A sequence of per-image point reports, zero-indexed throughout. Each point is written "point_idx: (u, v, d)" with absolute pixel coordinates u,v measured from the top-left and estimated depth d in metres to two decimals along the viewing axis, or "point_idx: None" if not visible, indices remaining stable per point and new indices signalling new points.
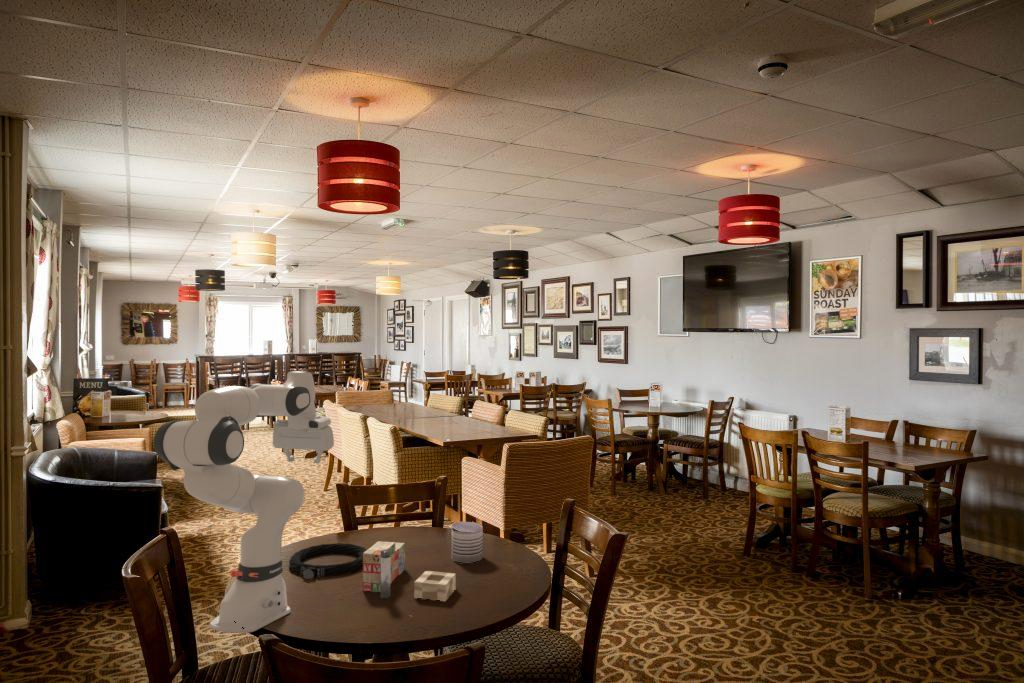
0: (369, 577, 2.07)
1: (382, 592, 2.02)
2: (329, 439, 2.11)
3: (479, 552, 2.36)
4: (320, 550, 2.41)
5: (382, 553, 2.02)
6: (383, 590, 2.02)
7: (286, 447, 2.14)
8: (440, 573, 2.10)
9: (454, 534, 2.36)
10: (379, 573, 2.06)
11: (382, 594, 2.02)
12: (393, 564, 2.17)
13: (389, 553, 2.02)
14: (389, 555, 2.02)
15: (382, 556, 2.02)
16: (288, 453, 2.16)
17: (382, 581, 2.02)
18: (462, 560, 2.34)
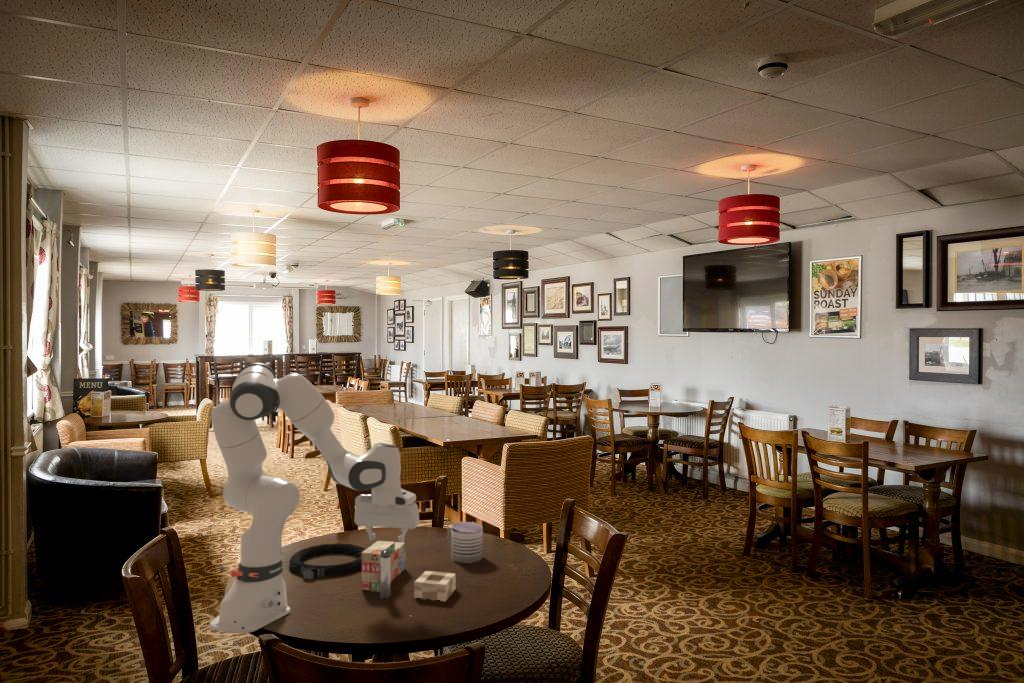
0: (367, 576, 2.08)
1: (382, 592, 2.02)
2: (415, 517, 2.00)
3: (479, 552, 2.36)
4: (320, 550, 2.41)
5: (382, 553, 2.02)
6: (383, 590, 2.02)
7: (369, 524, 2.03)
8: (440, 573, 2.10)
9: (454, 534, 2.36)
10: (377, 572, 2.07)
11: (382, 594, 2.02)
12: (392, 564, 2.17)
13: (389, 553, 2.02)
14: (389, 555, 2.02)
15: (382, 556, 2.02)
16: (370, 531, 2.04)
17: (382, 581, 2.02)
18: (462, 560, 2.34)
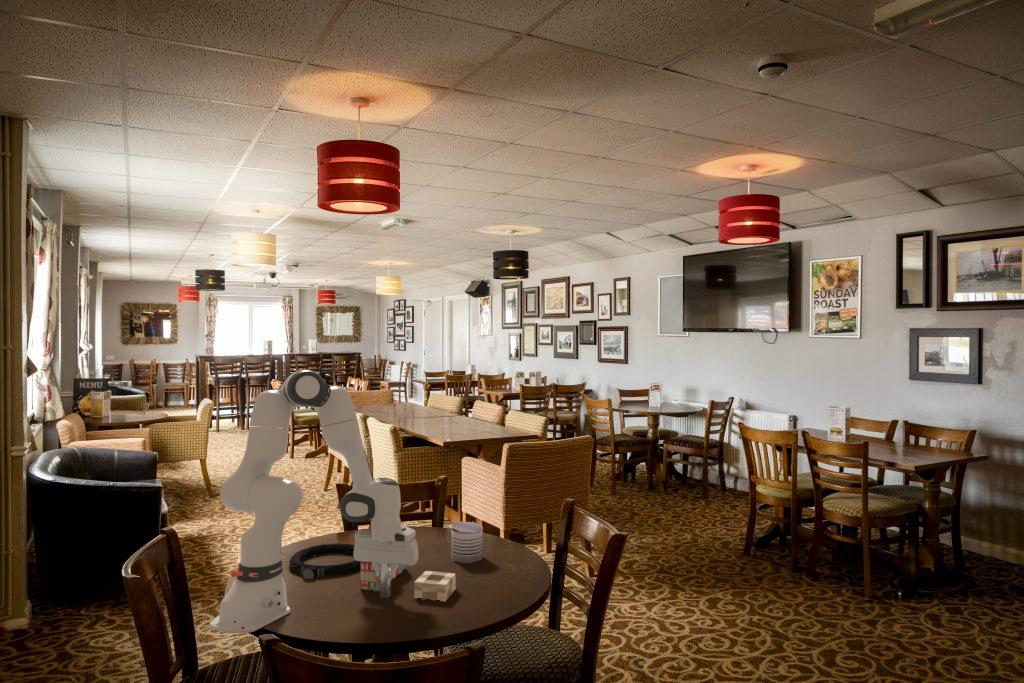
0: (366, 575, 2.08)
1: (382, 592, 2.02)
2: (414, 553, 2.00)
3: (479, 552, 2.36)
4: (320, 550, 2.41)
5: None
6: (383, 590, 2.02)
7: (368, 560, 2.03)
8: (440, 573, 2.10)
9: (454, 534, 2.36)
10: None
11: (382, 594, 2.02)
12: None
13: None
14: None
15: None
16: (376, 567, 2.04)
17: (382, 581, 2.02)
18: (462, 560, 2.34)
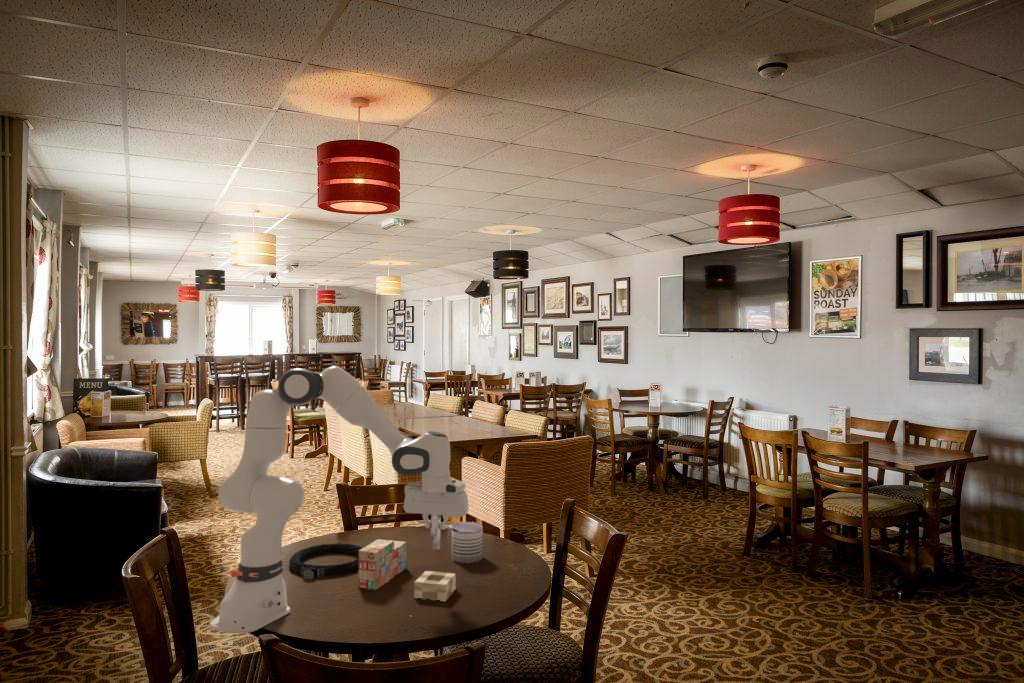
0: (364, 574, 2.09)
1: (433, 543, 2.05)
2: (465, 505, 2.03)
3: (479, 552, 2.36)
4: (320, 550, 2.41)
5: None
6: (433, 541, 2.05)
7: (418, 512, 2.05)
8: (440, 573, 2.10)
9: (454, 534, 2.36)
10: (374, 571, 2.08)
11: (433, 545, 2.05)
12: (391, 562, 2.18)
13: None
14: None
15: None
16: (427, 519, 2.06)
17: (433, 532, 2.05)
18: (462, 560, 2.34)
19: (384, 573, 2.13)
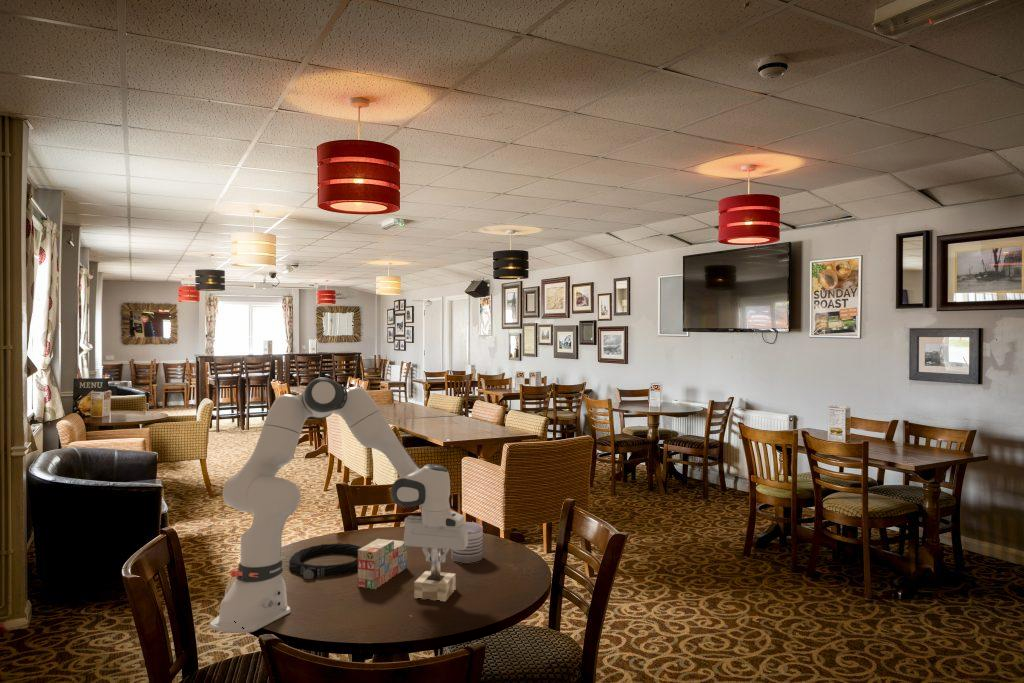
0: (363, 573, 2.10)
1: (432, 577, 2.05)
2: (465, 538, 2.03)
3: (479, 552, 2.36)
4: (320, 550, 2.41)
5: None
6: (433, 575, 2.05)
7: (418, 545, 2.06)
8: (440, 573, 2.10)
9: None
10: (373, 570, 2.09)
11: (432, 578, 2.05)
12: (391, 562, 2.19)
13: None
14: None
15: None
16: (426, 552, 2.06)
17: (432, 566, 2.05)
18: (462, 560, 2.34)
19: (383, 573, 2.14)
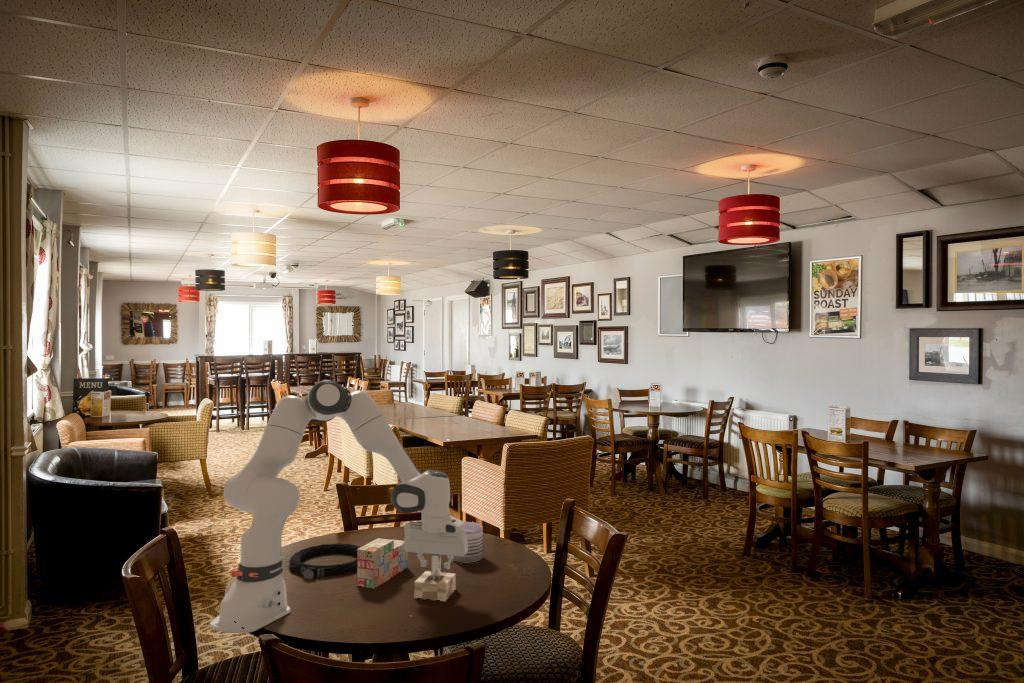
0: (362, 573, 2.11)
1: None
2: (465, 544, 2.03)
3: (479, 552, 2.36)
4: (320, 550, 2.41)
5: None
6: None
7: (418, 551, 2.05)
8: None
9: None
10: (372, 569, 2.09)
11: None
12: (390, 561, 2.19)
13: None
14: None
15: None
16: (421, 558, 2.07)
17: (432, 578, 2.05)
18: (462, 560, 2.34)
19: (382, 572, 2.14)
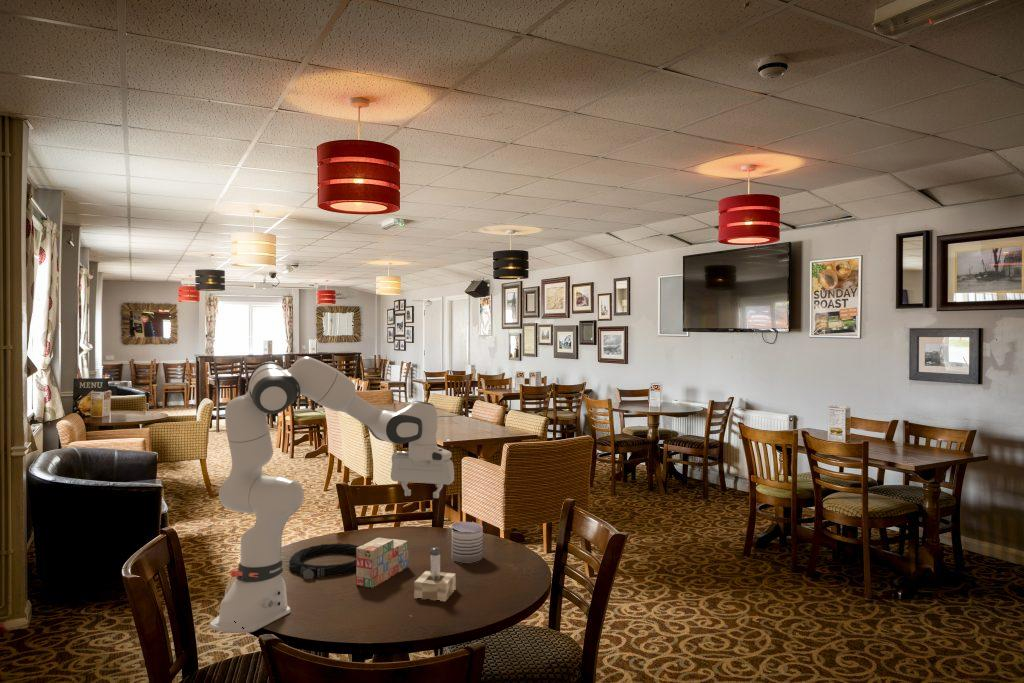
0: (361, 572, 2.12)
1: None
2: (451, 473, 2.05)
3: (479, 552, 2.36)
4: (320, 550, 2.41)
5: (432, 550, 2.05)
6: None
7: (405, 480, 2.08)
8: (440, 573, 2.10)
9: (454, 534, 2.36)
10: (370, 569, 2.10)
11: None
12: (390, 561, 2.20)
13: (439, 550, 2.05)
14: (439, 552, 2.05)
15: (432, 553, 2.05)
16: (405, 487, 2.09)
17: (432, 578, 2.05)
18: (462, 560, 2.34)
19: (381, 572, 2.15)
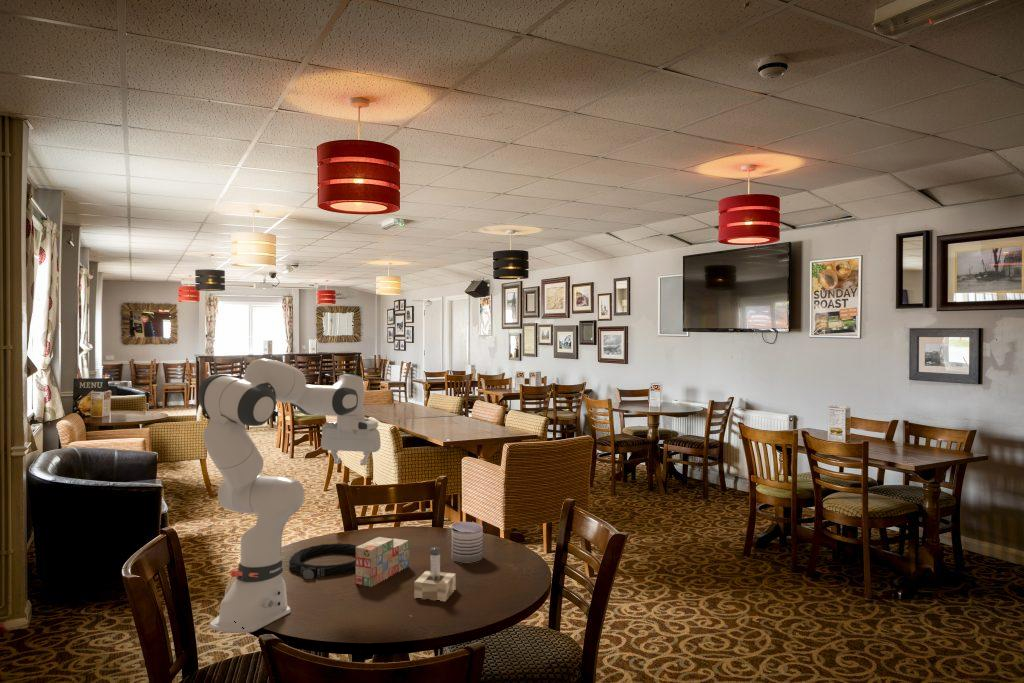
0: (360, 571, 2.12)
1: None
2: (376, 441, 2.18)
3: (479, 552, 2.36)
4: (320, 550, 2.41)
5: (432, 550, 2.05)
6: None
7: (334, 449, 2.20)
8: (440, 573, 2.10)
9: (454, 534, 2.36)
10: (369, 568, 2.11)
11: None
12: (390, 560, 2.20)
13: (439, 550, 2.05)
14: (439, 552, 2.05)
15: (432, 553, 2.05)
16: (335, 455, 2.22)
17: (432, 578, 2.05)
18: (462, 560, 2.34)
19: (380, 571, 2.15)
